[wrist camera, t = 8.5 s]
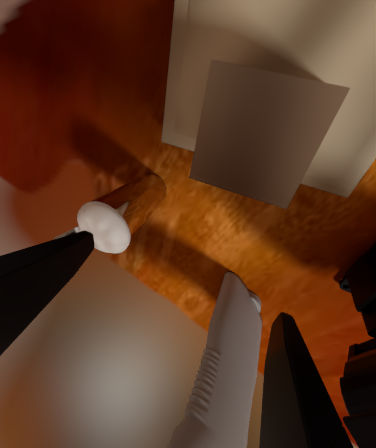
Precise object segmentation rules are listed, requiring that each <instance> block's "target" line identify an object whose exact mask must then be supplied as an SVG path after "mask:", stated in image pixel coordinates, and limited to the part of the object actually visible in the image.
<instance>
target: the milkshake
mask: <svg viewBox="0 0 376 448" xmlns="http://www.w3.org/2000/svg"><path fill="white" fill-rule="evenodd" d="M165 197H166V186H165V184H164V183H163V181H162V179H161V178H159V177H158V176H156V175H154V174H144V175H142V176H140V177H138V178H136V179H134V180H132V181H130V182H129V183H127V184H125V185H123V186H121V187H119V188H117V189H115V190H113V191H111V192H109V193H107V194H105V195H103V196H101V197H99V198H97V199H95V200H92V201H90V202H88V203H86V204H84V205H83V206H82V207H81V209H80V210H79V212H78V215H77V220H78V224H79V226H78V227H76V228H74V229H72V230H70V231H68V232H66V233H64V234H62V235H59V236H58V237H56V238H55V239H58V238H61V237H64V236H68V235H71V234H74V233H77V232H80V231H88V232H91V233H92V234H93V236H94V244H95V246H94V248H96V249H98V250H100V251H103V252H107V253H121V252H123V251H124V250H125V249H126V248H127V247H128V245H129V244H130V243H131V241H132V240H133V239H134V237H135V236H136V235H137V233H138V232H139V230H140V229H141V228H142V226H143V225H144V224H145V222H146V221H147V220H148V218H149V217H150V216H151V215H152V213H153V212H154V211H155V210H156V208H157V207H158V206H159V205H160V203H161V202H162V201H163V200H164V198H165Z"/></svg>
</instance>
